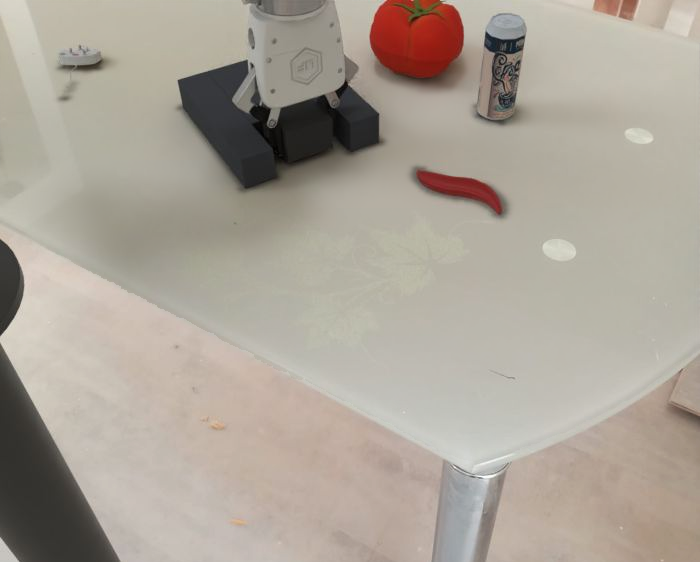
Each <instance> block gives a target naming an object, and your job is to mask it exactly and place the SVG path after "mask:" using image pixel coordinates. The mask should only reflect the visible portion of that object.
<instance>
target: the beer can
mask: <svg viewBox="0 0 700 562" xmlns="http://www.w3.org/2000/svg"><path fill="white" fill-rule="evenodd" d="M527 28H528V27H527V24H526V22H525V19H524V18H523V17H522V16H521V15H520V14H515V13H512V12H500V13H497V14H495V15H492V16H491V18H490V20H489V21H488V23H487V24H486V26H485V32H484V41H483V49H482V58H481V68H480V77H479V83H478V84H479V85H478V94H477V102H476V111H477V113H478V115H480V116H481V117H483V118H485V119H487V120H490V121H502V120H505V119H508V118H510V117H512V116H513V115H514V113H515V107H516V101H517V95H518V87H519V81H520V74H521V70H522V69H521V68H522V62H523V56H524V49H525V43H526V36H527V32H528V29H527Z"/></svg>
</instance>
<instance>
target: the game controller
mask: <svg viewBox="0 0 700 562" xmlns="http://www.w3.org/2000/svg"><path fill="white" fill-rule="evenodd" d="M77 47H78V48H76V49H74V50H73V49H72V47H69V48H68V49H66V48H65V49H64V48H63V49H60V50H59V52H58V53H57V56H58V59H59V63H60V65H65V66H75V67H72V68H71V71H70V74H69V78H70V81H69V84H68V86H65V88H64V90H63V95H62V96H63V99H66V97H65V92H66V90H67V88H70V86H71V83H72V72H73V71H74V69H77V67H78V66H89V65H94V64H98V63H99V62H100V61H101V60H103V57H102V53H101V50H100V49H97V48H95V49H92V50H89V46H88V45H81V44H78V45H77Z"/></svg>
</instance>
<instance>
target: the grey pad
mask: <svg viewBox="0 0 700 562" xmlns="http://www.w3.org/2000/svg"><path fill="white" fill-rule="evenodd" d="M248 73H249V70H248V58H247V59H244V60H240V61H237V62H233V63H230V64H227V65H223V66H220V67H218V68H213V69H210V70H207V71H203V72H200V73H196V74H193V75H189V76H186V77H182V78H179V79H177V85H178V90H179V94H180V95H179V96H180V99H181V105H182V109H184V111H185V112H186V113H187V115H188V117H190V119H191V120H192V121H193V123H194V124H195V126H197V128H198V129H199V130H200V132H201V133H202V134H203V135H204V136H205V138H206V140H208V142H209V143H210V144H211V146H212V147H213V148H214V149H215V151H216V153H217V154H218V155H219V156H220V157H221V159H222V160H223V162H225V164H226V165H227V167H228V168H229V170H231V172H232V173H233V174H234V176H235V177H236V178H237V179H238V181H239V182H240V184H242V186H243V187H244V188H245V189H249V188H250V187H254V186H258V185H260V184H262V183H265V182H269V181H272V180H274V179H277V174H276V173H277V172H276V171H277V170H276V163H275V154H274V150H273V149H272V147H271V146H270V145H269V144H268V143H267V142H266V140H265V138H264V129H263V123H262V122H261V121H259V120H257V119H256V118H254V117H253V116H252V115H250V114H248V113H246V112H244V111H242V110H241V109H239V108H237V106H236V105H235V104H234V103H233V101H232V98H233V97H234V95H235V93H236V92H237V90H238V89H239V87H240V86H241V84H242V83H243V81H244V80H245V78H246V77H247V75H248ZM319 97H320V96H318V97H315V98H312V99H313V100H314V101H315V102H316V101H317V98H319ZM260 100H261V97H260V94H259V93H257V92H255V93H254V95H253V96H252V98H251V101H253V102H255V103H257V104H258V105H259V104H260ZM309 100H310V99H309ZM339 101H340V103H339V105H338V106H337V107H336V108H335V111H336V127H334V137H335V138H337V139H338V140H339V141H340V142H341V143H342V144H343V146H344V147H346V149H347V150H348V151H349V152H350V153H351V152H355V151H359V150H360V149H363V148H366V147H370V146H373V145H375V144H377V143H380V113H379V111H377V110H376V109H375V108H374V107H373V106H372V105H371V104H370V103H368V101H366V100H365V99H364V98H363V97H362V96H361V95H360V94H359V93H358V92H357V91H356V90H355V89H354V88H352V87H351V86H350V85H349V84H348V87H347V89H346V90H345V92H344V93H343V94H342V96H341V97H340V99H339ZM299 103H300V102H299Z"/></svg>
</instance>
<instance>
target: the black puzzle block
mask: <svg viewBox="0 0 700 562" xmlns="http://www.w3.org/2000/svg"><path fill="white" fill-rule="evenodd" d="M278 123H279V124H280V125H281V126H282V136H283V146H284V154H283V155H282V156H281V157H282V158H284V159H285V160H286V162H287V163H292V162H295V161H298V160H301V159H304V158H307V157H310V156H314V155H316V154H319V153H322V152H325V151H328V150H330V149H333V148H334V138H333V127H332V118H331V117H330V116H329V115H328V114H327V113H326V112H325V111H324V110H323V109H322V108H321V107H320V106H319V105H318V104H317V103H316V102H315V101H314V100H313V99H310V100H306V101H303V102H300V103H296V104H293V105H290V106H286V107H282V108H281V110H280V114H279V118H278Z"/></svg>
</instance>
